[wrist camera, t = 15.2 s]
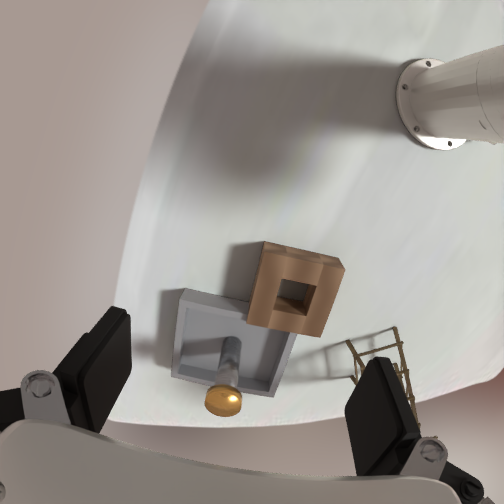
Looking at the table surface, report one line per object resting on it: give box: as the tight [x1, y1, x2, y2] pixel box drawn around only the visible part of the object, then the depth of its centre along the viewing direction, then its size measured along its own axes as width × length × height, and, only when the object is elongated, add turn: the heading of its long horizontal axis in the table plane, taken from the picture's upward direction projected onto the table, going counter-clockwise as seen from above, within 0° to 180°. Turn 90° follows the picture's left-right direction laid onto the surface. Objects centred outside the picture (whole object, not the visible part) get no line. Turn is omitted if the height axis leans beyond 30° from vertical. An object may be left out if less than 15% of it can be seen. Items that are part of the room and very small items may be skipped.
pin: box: [205, 336, 242, 417], centre depth 39 cm, size 4×4×12 cm
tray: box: [171, 288, 297, 397], centre depth 44 cm, size 16×14×3 cm
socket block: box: [246, 241, 345, 338], centre depth 41 cm, size 10×10×4 cm
